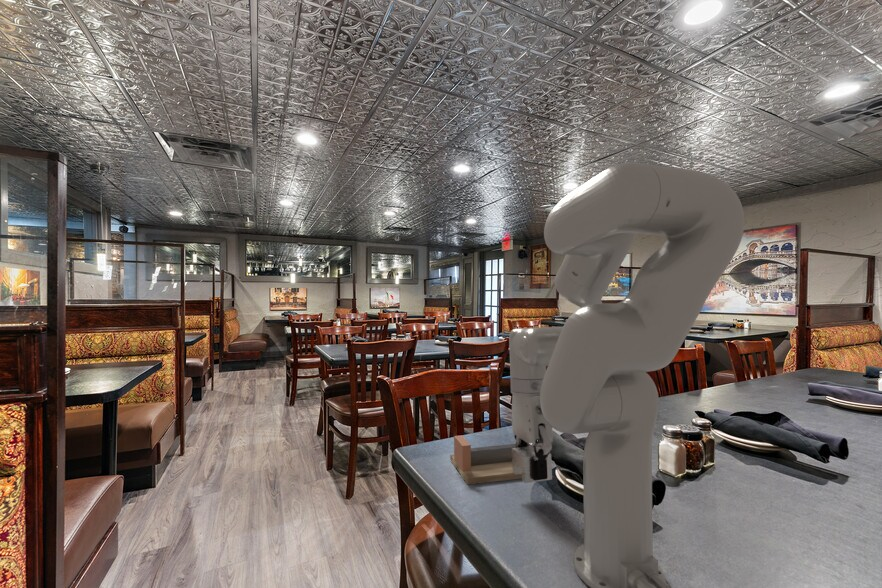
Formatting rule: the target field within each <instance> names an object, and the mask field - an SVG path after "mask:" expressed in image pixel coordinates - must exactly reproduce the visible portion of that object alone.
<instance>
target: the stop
mask: <svg viewBox="0 0 882 588" xmlns="http://www.w3.org/2000/svg"><path fill="white" fill-rule="evenodd" d="M471 445H472V444H471V443H469V441H467V439H466V438H465V437H464V436H463V435H454V436H453V446H454V447H453V449H454V451H453V452H454V460H455V462H456V463H457V465H458V466H459V467H460V469H461V470H462V471H463V472H465V471H471V448H472V446H471Z"/></svg>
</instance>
